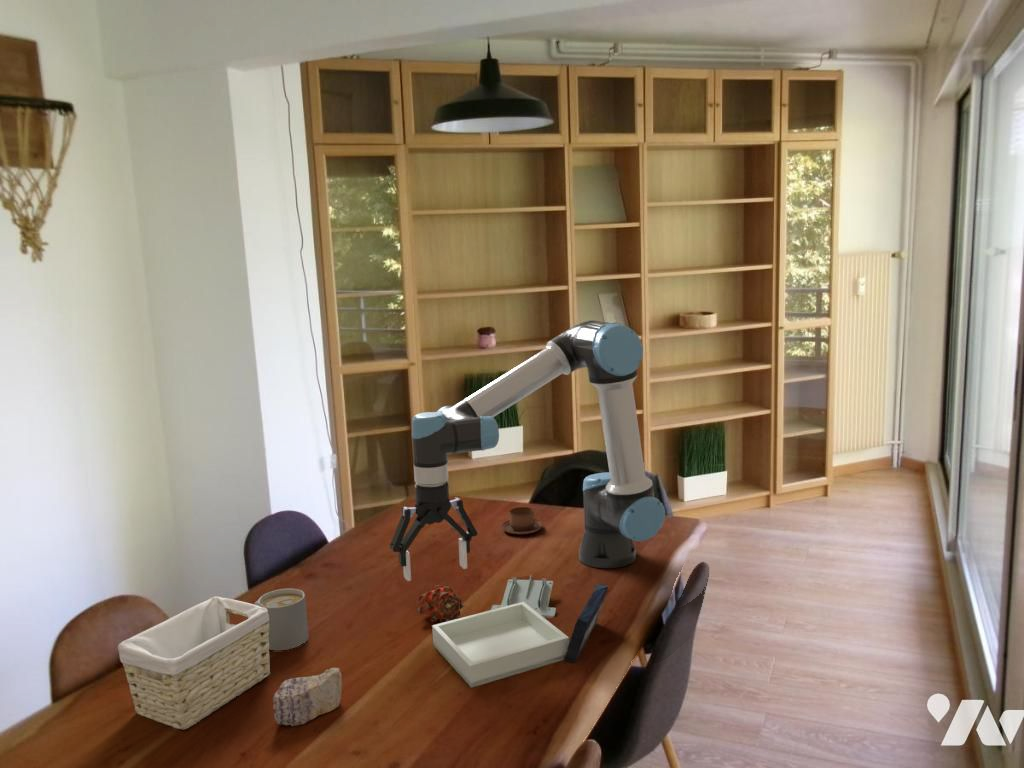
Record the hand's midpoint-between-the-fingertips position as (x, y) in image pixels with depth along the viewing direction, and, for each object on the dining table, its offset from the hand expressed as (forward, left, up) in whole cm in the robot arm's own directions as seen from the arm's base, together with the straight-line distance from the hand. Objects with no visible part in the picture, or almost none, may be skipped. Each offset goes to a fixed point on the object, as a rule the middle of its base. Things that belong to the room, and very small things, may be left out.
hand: (435, 573), depth 186 cm
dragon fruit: (0, 0, -11) cm, 11 cm away
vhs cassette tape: (-22, +26, -12) cm, 36 cm away
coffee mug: (+34, -10, -11) cm, 37 cm away
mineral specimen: (+36, +23, -12) cm, 44 cm away
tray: (-5, +21, -11) cm, 24 cm away
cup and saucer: (-43, -42, -12) cm, 61 cm away
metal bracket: (-21, +4, -12) cm, 24 cm away
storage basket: (+52, +6, -12) cm, 53 cm away
